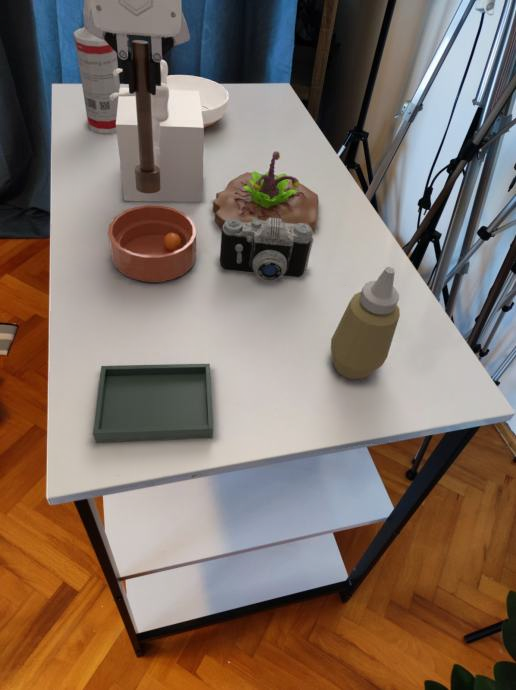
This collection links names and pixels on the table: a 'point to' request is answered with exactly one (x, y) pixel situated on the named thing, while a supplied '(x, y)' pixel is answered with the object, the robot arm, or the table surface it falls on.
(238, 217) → the plant
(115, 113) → the spray bottle
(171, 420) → the spoon tray
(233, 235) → the camera
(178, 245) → the ball
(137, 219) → the copper shallow cylinder
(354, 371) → the squeeze bottle
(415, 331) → the table surface
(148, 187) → the brown wooden rod
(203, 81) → the bowl
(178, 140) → the white figure sculpture
